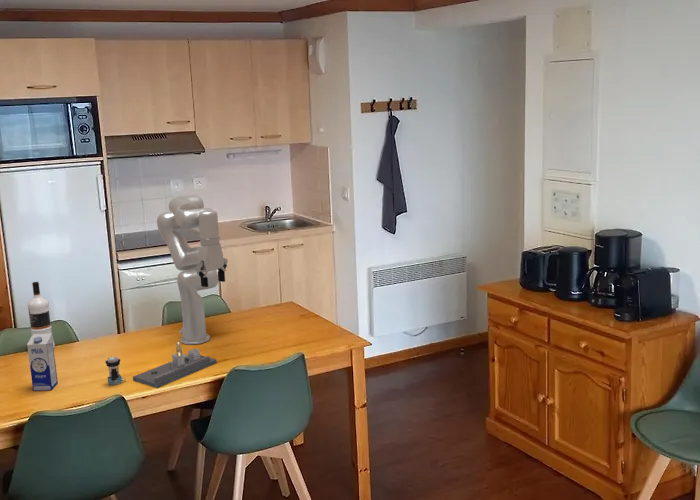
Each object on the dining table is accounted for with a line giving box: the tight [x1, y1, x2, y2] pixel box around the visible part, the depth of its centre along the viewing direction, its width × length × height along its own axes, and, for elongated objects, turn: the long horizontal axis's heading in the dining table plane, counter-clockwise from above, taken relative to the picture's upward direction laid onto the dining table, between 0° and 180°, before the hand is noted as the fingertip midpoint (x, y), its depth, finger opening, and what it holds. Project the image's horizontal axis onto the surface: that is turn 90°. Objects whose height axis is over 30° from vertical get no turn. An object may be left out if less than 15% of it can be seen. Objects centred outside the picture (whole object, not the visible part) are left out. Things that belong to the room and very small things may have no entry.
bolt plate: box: [132, 348, 218, 389], centre depth 291 cm, size 14×30×6 cm, turn 144°
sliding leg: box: [168, 341, 188, 369], centre depth 290 cm, size 9×3×11 cm, turn 54°
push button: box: [104, 356, 127, 386], centre depth 281 cm, size 7×5×10 cm
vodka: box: [26, 281, 56, 349], centre depth 319 cm, size 9×9×30 cm
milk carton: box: [26, 333, 59, 392], centre depth 278 cm, size 7×7×20 cm
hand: (213, 283), depth 299 cm, fingers open, 9 cm apart
